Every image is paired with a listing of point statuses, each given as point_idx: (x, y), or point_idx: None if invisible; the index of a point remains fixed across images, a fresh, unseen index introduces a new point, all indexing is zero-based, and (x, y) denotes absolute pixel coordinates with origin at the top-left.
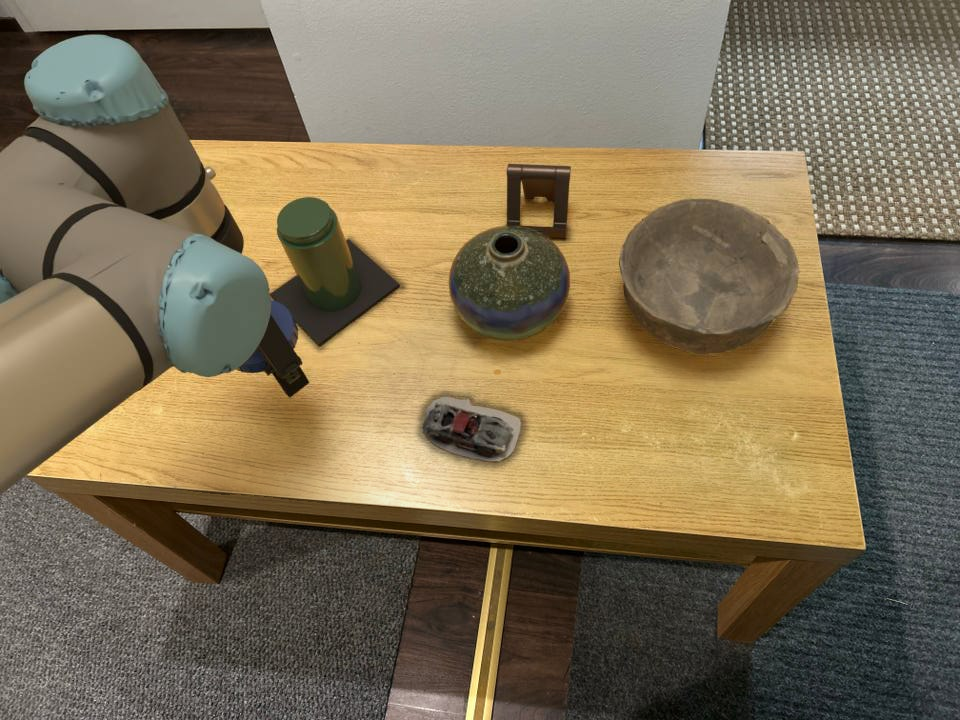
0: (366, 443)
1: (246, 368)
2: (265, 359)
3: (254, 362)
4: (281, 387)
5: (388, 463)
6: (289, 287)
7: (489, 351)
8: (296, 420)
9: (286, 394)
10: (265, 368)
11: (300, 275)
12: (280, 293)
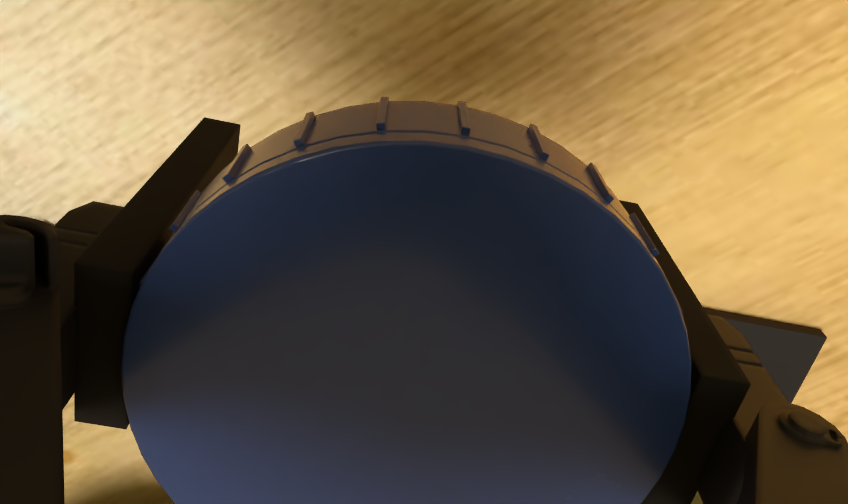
0: (171, 106)
1: (251, 160)
2: (7, 333)
3: (179, 240)
4: (222, 147)
5: (61, 93)
6: (776, 383)
7: (128, 488)
8: (429, 37)
9: (227, 124)
10: (32, 255)
11: (699, 495)
12: (792, 355)
